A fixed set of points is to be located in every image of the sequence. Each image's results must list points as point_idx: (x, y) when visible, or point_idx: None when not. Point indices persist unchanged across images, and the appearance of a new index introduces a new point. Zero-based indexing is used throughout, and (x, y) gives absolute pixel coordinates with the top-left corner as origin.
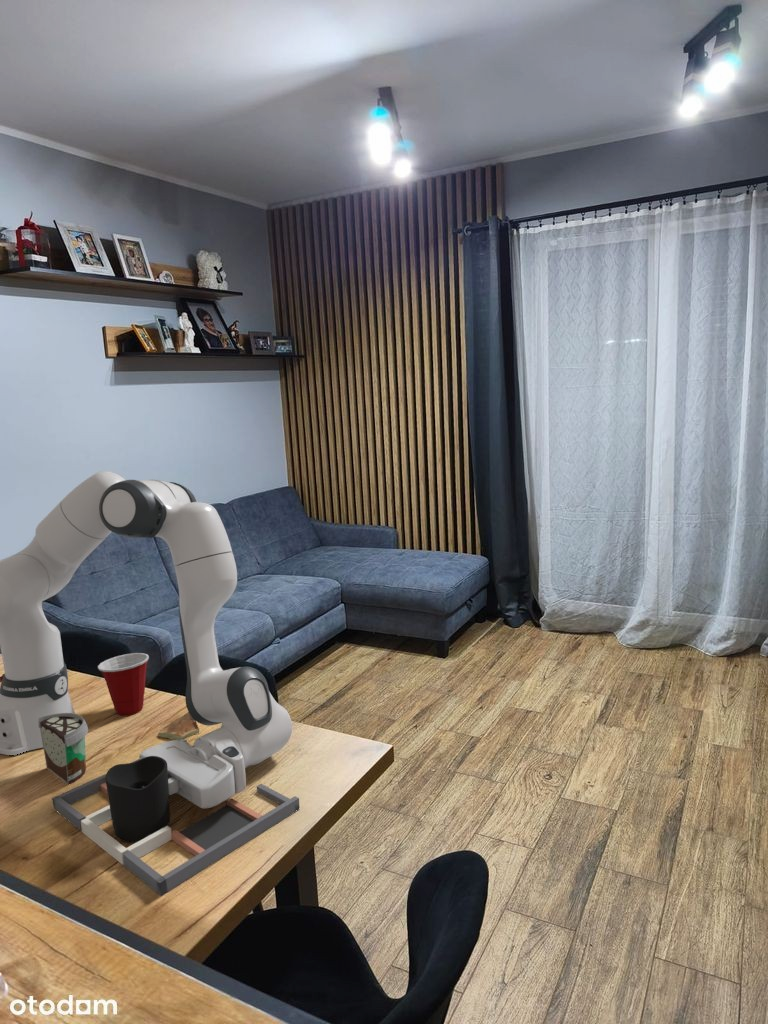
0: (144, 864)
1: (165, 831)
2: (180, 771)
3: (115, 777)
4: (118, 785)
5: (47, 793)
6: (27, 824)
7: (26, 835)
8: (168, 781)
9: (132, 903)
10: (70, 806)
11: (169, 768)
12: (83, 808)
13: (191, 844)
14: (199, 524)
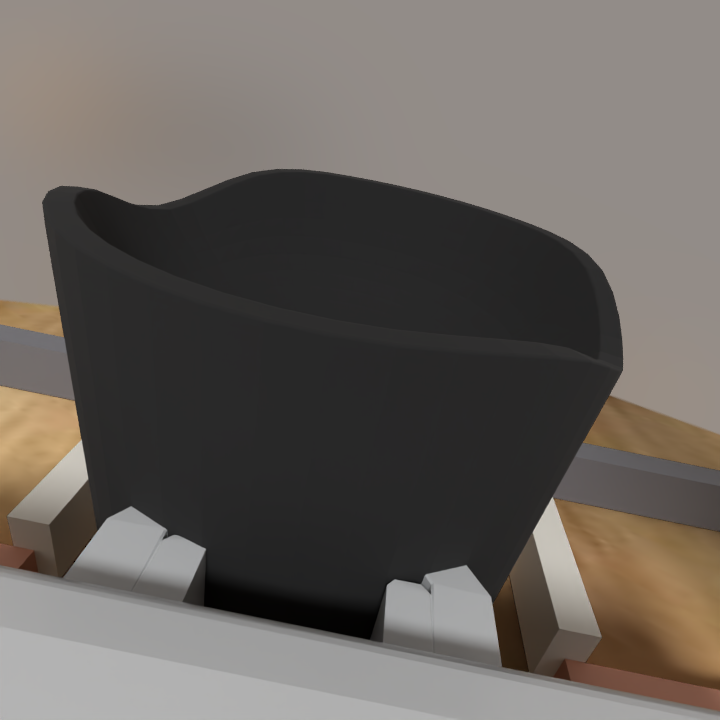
0: (25, 341)
1: (33, 489)
2: (8, 675)
3: (491, 283)
4: (304, 170)
5: None
6: (680, 445)
7: (608, 416)
8: (153, 528)
9: (19, 327)
10: (668, 472)
11: (317, 671)
12: (705, 575)
13: None
14: None
